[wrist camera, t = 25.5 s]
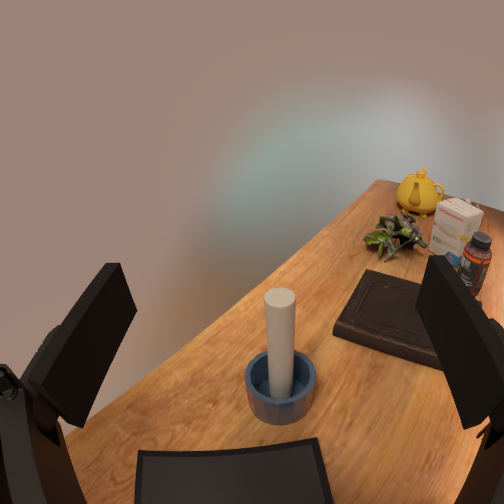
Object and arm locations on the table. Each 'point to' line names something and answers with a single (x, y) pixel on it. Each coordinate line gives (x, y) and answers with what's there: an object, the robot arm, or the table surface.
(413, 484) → the table surface
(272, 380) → the white cylindrical rod
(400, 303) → the dark brown flat block
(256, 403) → the pen pot
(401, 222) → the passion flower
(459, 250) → the ink box
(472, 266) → the supplement bottle
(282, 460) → the tablet
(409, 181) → the teapot
